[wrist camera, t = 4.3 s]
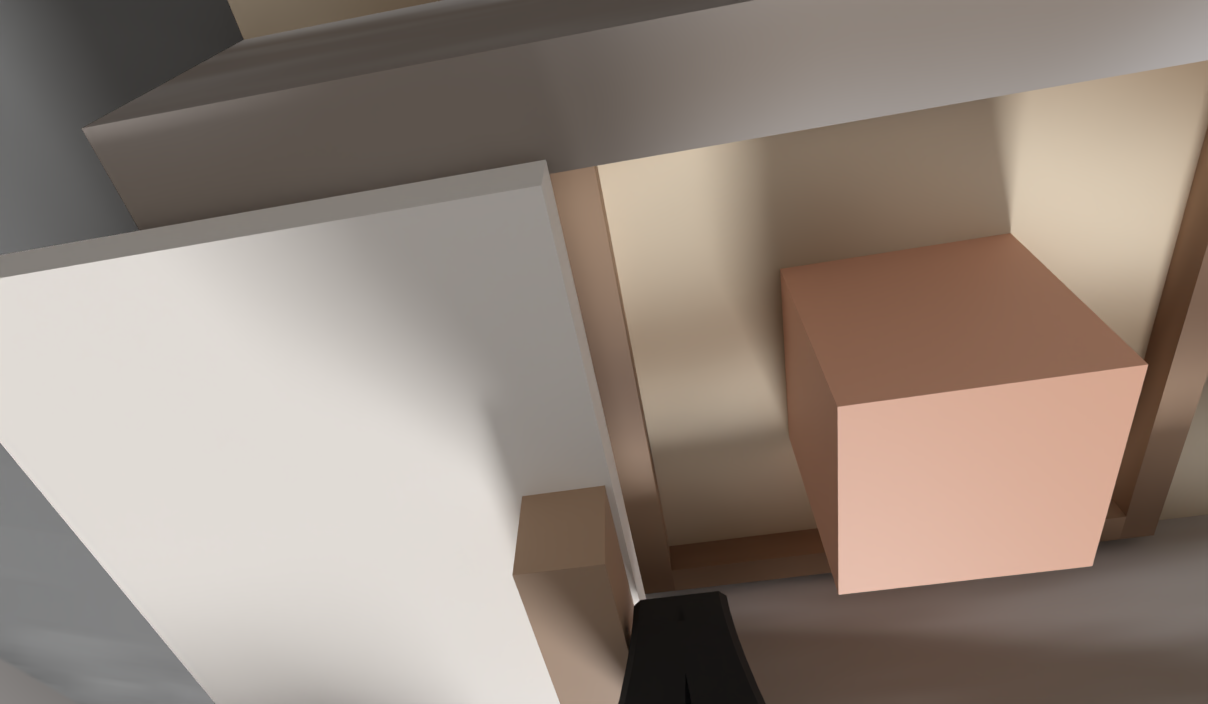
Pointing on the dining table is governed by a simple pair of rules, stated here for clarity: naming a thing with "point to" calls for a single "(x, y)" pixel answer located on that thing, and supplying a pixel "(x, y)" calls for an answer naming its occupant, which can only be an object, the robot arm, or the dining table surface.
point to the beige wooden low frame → (781, 267)
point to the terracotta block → (953, 413)
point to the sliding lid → (336, 444)
